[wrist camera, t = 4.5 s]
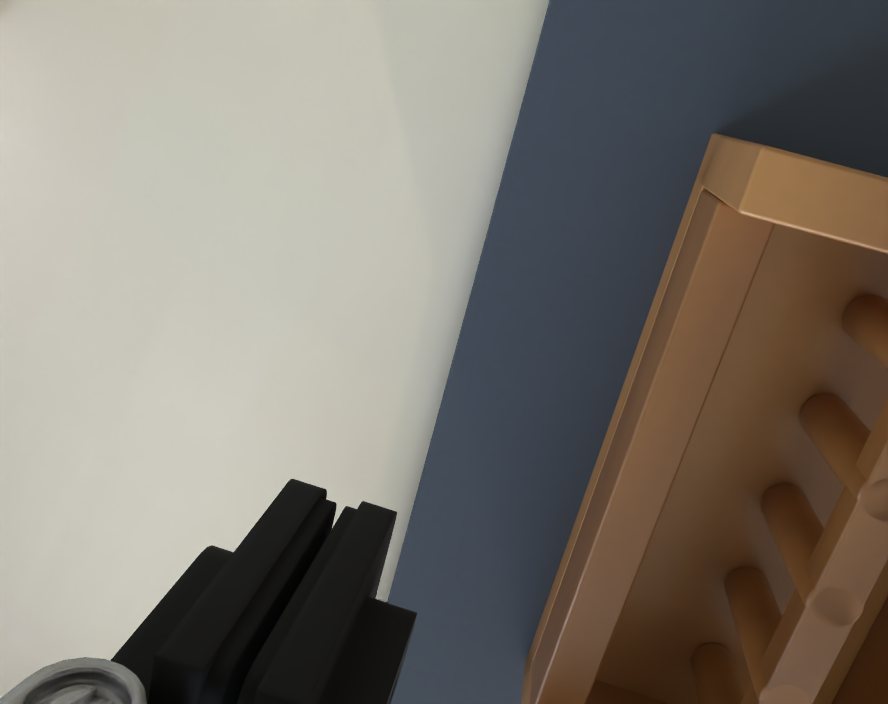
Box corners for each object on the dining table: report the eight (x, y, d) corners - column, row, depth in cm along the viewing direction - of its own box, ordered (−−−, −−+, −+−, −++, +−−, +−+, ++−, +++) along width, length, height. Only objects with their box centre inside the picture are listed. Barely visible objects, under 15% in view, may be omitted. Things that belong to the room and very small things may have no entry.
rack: (524, 664, 24) (508, 820, 19) (712, 132, 18) (763, 144, 13) (820, 759, 23) (889, 949, 18) (1103, 235, 18) (1318, 291, 13)
